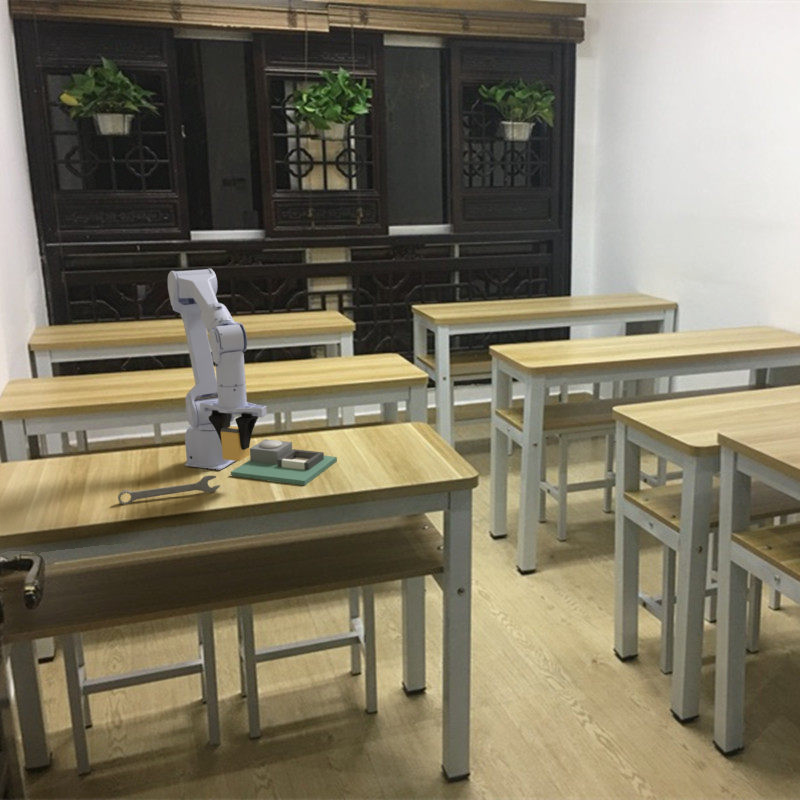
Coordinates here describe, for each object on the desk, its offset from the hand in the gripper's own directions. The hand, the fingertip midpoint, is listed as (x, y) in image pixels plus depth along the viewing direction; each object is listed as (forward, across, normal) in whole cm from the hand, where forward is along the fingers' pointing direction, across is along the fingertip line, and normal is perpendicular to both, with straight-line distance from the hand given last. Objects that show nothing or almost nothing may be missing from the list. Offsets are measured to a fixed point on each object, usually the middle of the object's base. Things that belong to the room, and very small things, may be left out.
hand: (235, 447), depth 165 cm
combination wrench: (+9, -10, -10) cm, 17 cm away
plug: (+2, 0, 0) cm, 2 cm away
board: (+9, +4, +13) cm, 16 cm away
